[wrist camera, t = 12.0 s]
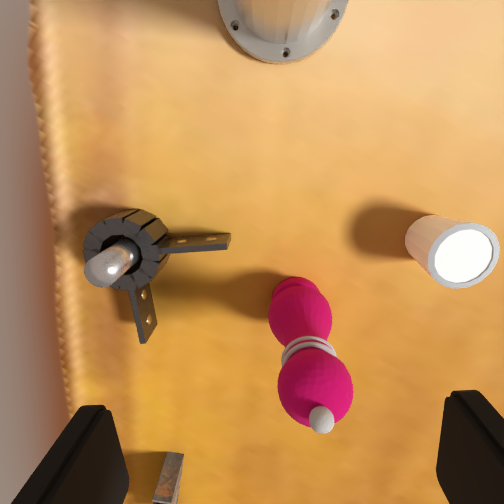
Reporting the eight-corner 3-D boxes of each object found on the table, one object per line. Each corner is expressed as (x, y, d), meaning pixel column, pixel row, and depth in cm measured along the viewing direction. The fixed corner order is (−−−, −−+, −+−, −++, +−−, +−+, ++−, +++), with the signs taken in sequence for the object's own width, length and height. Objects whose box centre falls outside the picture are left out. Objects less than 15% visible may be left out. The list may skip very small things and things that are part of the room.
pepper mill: (256, 293, 41) (250, 419, 22) (304, 262, 39) (341, 368, 20) (288, 333, 43) (308, 483, 24) (335, 305, 41) (396, 441, 22)
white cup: (405, 207, 37) (436, 220, 30) (465, 211, 37) (510, 225, 30) (394, 263, 39) (421, 287, 32) (450, 266, 39) (489, 291, 32)
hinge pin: (124, 231, 39) (80, 258, 29) (149, 229, 39) (112, 256, 29) (130, 254, 40) (88, 288, 30) (153, 253, 40) (119, 286, 30)
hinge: (98, 212, 38) (75, 221, 34) (227, 202, 37) (221, 210, 33) (125, 326, 43) (107, 348, 38) (239, 319, 42) (236, 341, 37)
